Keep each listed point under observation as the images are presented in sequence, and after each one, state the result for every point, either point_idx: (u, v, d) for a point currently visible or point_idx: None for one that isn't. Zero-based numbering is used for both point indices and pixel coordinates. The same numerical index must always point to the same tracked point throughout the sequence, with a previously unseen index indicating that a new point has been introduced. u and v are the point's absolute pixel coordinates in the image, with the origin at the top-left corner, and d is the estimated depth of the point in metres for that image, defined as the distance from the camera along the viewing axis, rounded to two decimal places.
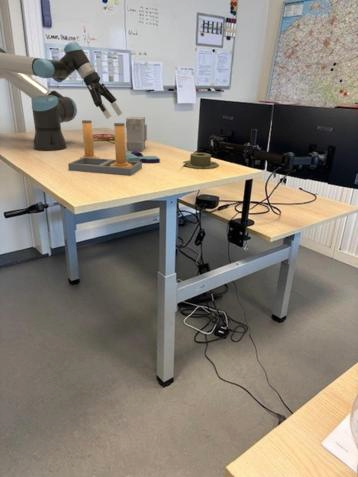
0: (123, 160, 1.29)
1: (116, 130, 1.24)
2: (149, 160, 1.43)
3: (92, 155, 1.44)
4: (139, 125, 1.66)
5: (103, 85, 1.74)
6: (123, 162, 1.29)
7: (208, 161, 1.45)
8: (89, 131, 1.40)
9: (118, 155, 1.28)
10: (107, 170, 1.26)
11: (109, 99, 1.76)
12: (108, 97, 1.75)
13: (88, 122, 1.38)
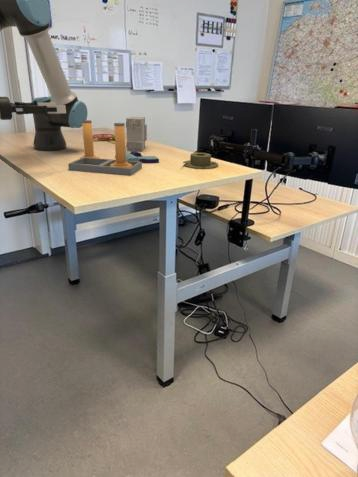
0: (123, 160, 1.29)
1: (116, 130, 1.24)
2: (148, 160, 1.43)
3: (92, 155, 1.44)
4: (139, 125, 1.66)
5: None
6: (123, 162, 1.29)
7: (208, 161, 1.45)
8: (89, 131, 1.40)
9: (118, 155, 1.28)
10: (107, 170, 1.26)
11: None
12: None
13: (88, 122, 1.38)
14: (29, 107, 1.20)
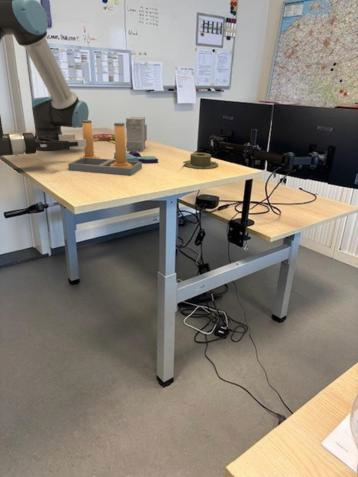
0: (123, 160, 1.29)
1: (116, 130, 1.24)
2: (147, 160, 1.42)
3: (92, 155, 1.44)
4: (139, 125, 1.66)
5: None
6: (123, 162, 1.29)
7: (208, 161, 1.45)
8: (89, 131, 1.40)
9: (118, 155, 1.28)
10: (107, 170, 1.26)
11: None
12: None
13: (88, 122, 1.38)
14: (52, 143, 1.28)
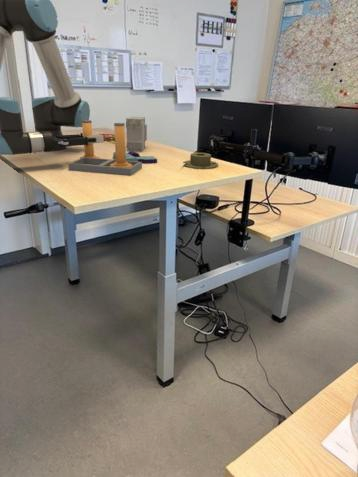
0: (123, 160, 1.29)
1: (116, 130, 1.24)
2: (147, 160, 1.42)
3: (92, 155, 1.44)
4: (139, 125, 1.66)
5: None
6: (123, 162, 1.29)
7: (208, 161, 1.45)
8: (89, 131, 1.40)
9: (118, 155, 1.28)
10: (107, 170, 1.26)
11: None
12: None
13: (88, 122, 1.38)
14: (74, 140, 1.34)
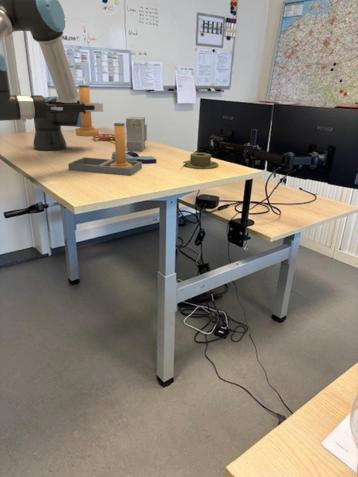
0: (123, 160, 1.29)
1: (116, 130, 1.24)
2: (146, 160, 1.42)
3: (90, 126, 1.27)
4: (139, 125, 1.66)
5: None
6: (123, 162, 1.29)
7: (208, 161, 1.45)
8: (87, 97, 1.23)
9: (118, 155, 1.28)
10: (107, 170, 1.26)
11: None
12: None
13: (85, 87, 1.22)
14: (69, 106, 1.17)
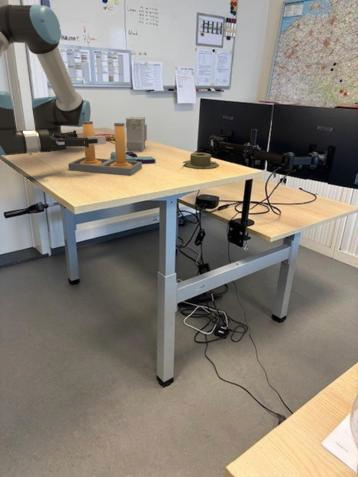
0: (123, 160, 1.29)
1: (116, 130, 1.24)
2: (145, 161, 1.42)
3: (93, 159, 1.32)
4: (139, 125, 1.66)
5: None
6: (123, 162, 1.29)
7: (208, 161, 1.45)
8: (91, 133, 1.27)
9: (118, 155, 1.28)
10: (107, 170, 1.26)
11: None
12: None
13: (89, 123, 1.26)
14: (71, 140, 1.19)
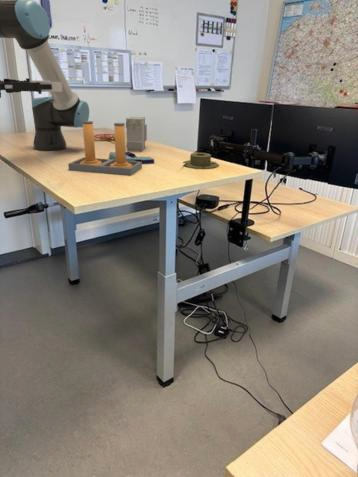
0: (123, 160, 1.29)
1: (116, 130, 1.24)
2: (144, 161, 1.41)
3: (93, 159, 1.32)
4: (139, 125, 1.66)
5: (9, 90, 1.06)
6: (123, 162, 1.29)
7: (208, 161, 1.45)
8: (91, 133, 1.27)
9: (118, 155, 1.28)
10: (107, 170, 1.26)
11: None
12: None
13: (89, 123, 1.26)
14: (20, 83, 1.05)
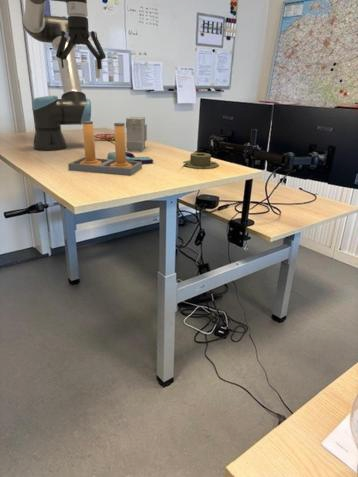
0: (123, 160, 1.29)
1: (116, 130, 1.24)
2: (142, 161, 1.41)
3: (93, 159, 1.32)
4: (139, 125, 1.66)
5: (91, 34, 1.36)
6: (123, 162, 1.29)
7: (208, 161, 1.45)
8: (91, 133, 1.27)
9: (118, 155, 1.28)
10: (107, 170, 1.26)
11: None
12: None
13: (89, 123, 1.26)
14: (99, 43, 1.38)
